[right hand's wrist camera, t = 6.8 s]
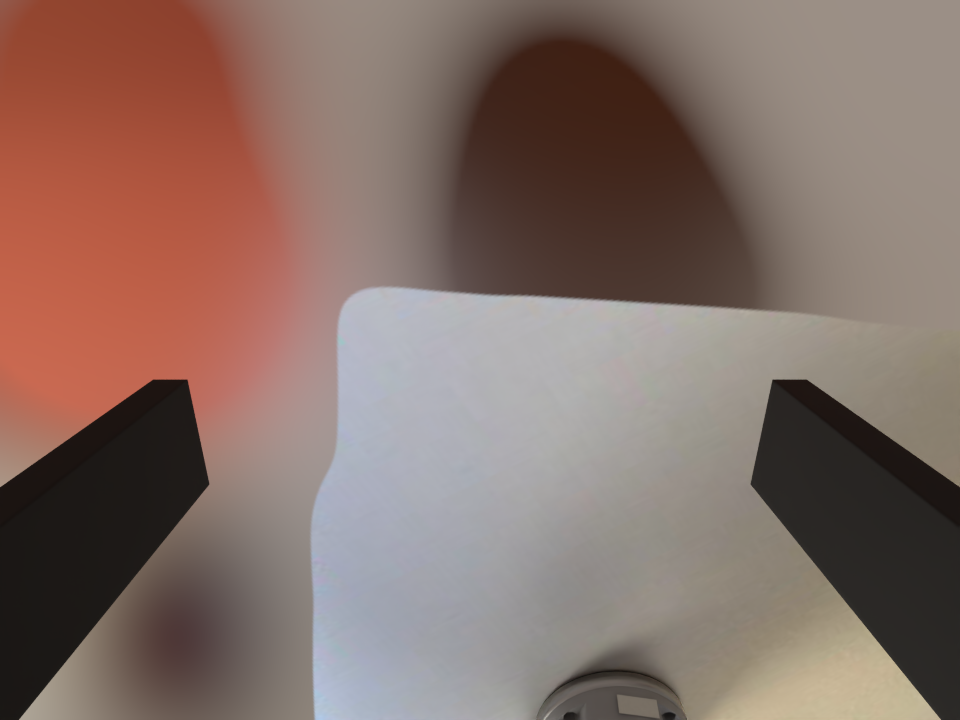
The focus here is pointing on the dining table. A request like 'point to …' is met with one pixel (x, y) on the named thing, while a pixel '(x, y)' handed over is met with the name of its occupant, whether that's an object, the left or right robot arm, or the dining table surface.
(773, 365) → the dining table surface
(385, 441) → the dining table surface
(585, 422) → the dining table surface
